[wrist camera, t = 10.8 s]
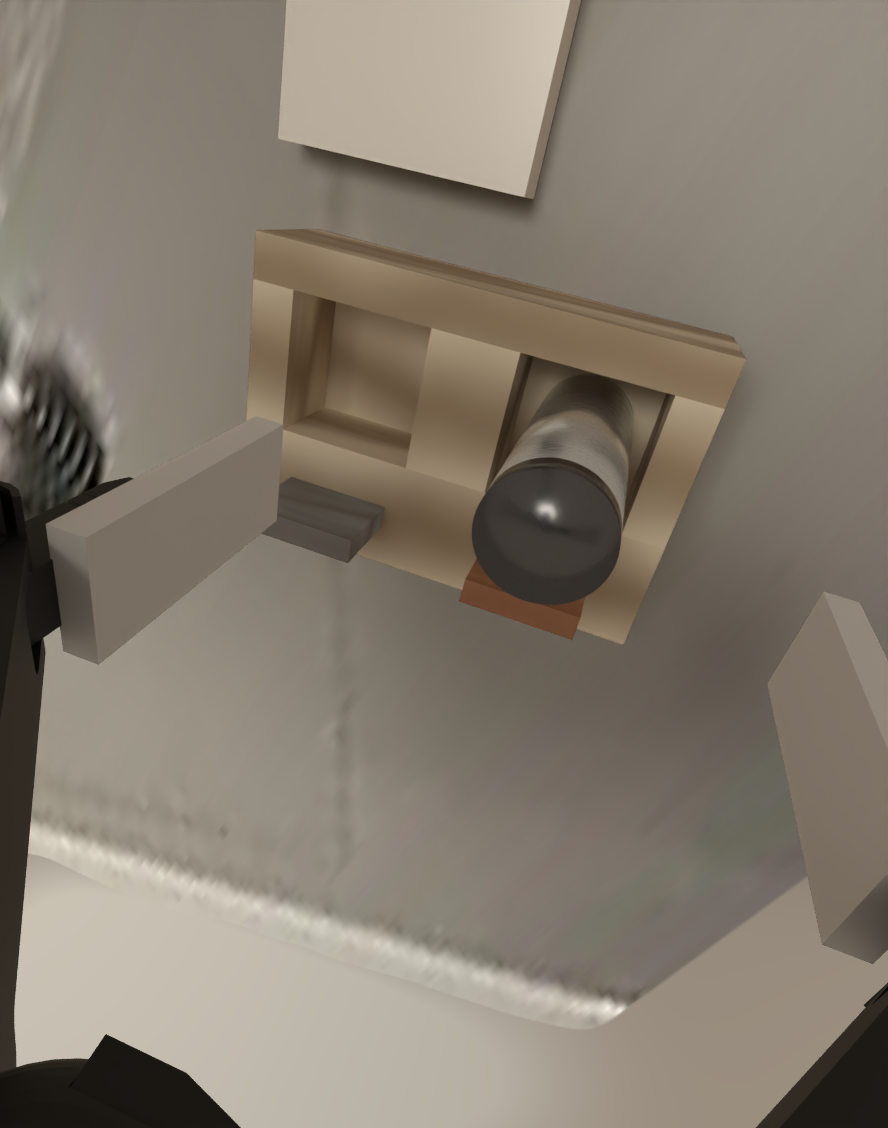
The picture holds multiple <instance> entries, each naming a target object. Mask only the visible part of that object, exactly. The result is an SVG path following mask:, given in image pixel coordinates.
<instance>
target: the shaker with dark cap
mask: <svg viewBox="0 0 888 1128" xmlns="http://www.w3.org/2000/svg"><path fill="white" fill-rule="evenodd" d="M633 428H634V413H633V408H632V405H631V402H630V400H629V398H628V397H627V395H626V393H625V392H624V391H623V390H622V389H621V388H620V387H619V386H618V385H617V384H615V383H614V382H613V381H611V380H609V379H607V378H604V377H602V376H598V375H591V374H583V375H576V376H573V377H570V378H567V379H565V380H563V381H561V382H560V383H558V384H557V385H556V386H555V387H553V388H552V389H551V390H550V392H549V393H548V394H547V395H546V397H545V398H544V400H543V402H542V403H541V405H540V406H539V408H538V410H537V411H536V413H535V414H534V416H533V418H532V419H531V421H530V422H529V424H528V426H527V427H526V429H525V431H524V432H523V434H522V435H521V437H520V439H519V440H518V442H517V443H516V445H515V447H514V448H513V450H512V451H511V453H510V455H509V456H508V458H507V460H506V461H505V463H504V464H503V466H502V468H501V469H500V471H499V472H498V474H497V476H496V477H495V479H494V480H493V482H492V484H491V485H490V487H489V489H488V490H487V492H486V493H485V495H484V497H483V498H482V500H481V501H480V503H479V505H478V507H477V509H476V512H475V515H474V518H473V523H472V544H473V548H474V552H475V555H476V557H477V560H478V562H479V564H480V566H481V567H482V569H483V570H484V572H485V573H486V575H487V576H488V577H489V578H490V579H491V580H492V581H493V582H494V583H495V584H496V585H497V586H498V587H500V588H501V589H502V590H504V591H505V592H507V593H508V594H510V595H512V596H514V597H516V598H519V599H521V600H524V601H527V602H531V603H536V604H542V605H558V604H565V603H570V602H573V601H576V600H579V599H581V598H584V597H586V596H588V595H589V594H591V593H592V592H594V591H595V590H597V589H598V588H599V587H600V586H601V585H602V584H603V583H604V582H605V581H606V580H607V579H608V577H609V576H610V574H611V573H612V571H613V569H614V567H615V565H616V563H617V560H618V557H619V552H620V545H621V536H622V527H623V518H624V509H625V500H626V491H627V482H628V473H629V464H630V455H631V446H632V437H633Z"/></svg>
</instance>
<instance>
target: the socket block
mask: <svg viewBox="0 0 888 1128" xmlns="http://www.w3.org/2000/svg"><path fill="white" fill-rule="evenodd" d="M745 361H746V358H745V356H744V355H743V353H742V351H741V349H740V348H739V346H738V344H737V343H736V341H735V339H734V338H733V337H731V336H727V335H723V334H720V333H716V332H712V331H708V330H704V329H700V328H696V327H693V326H689V325H685V324H681V323H677V322H673V321H669V320H666V319H662V318H658V317H654V316H650V315H646V314H642V313H638V312H635V311H631V310H627V309H623V308H619V307H615V306H611V305H608V304H604V303H600V302H596V301H592V300H588V299H584V298H581V297H577V296H573V295H569V294H565V293H561V292H557V291H554V290H550V289H546V288H542V287H538V286H534V285H530V284H527V283H523V282H519V281H515V280H511V279H507V278H503V277H500V276H496V275H492V274H488V273H484V272H480V271H476V270H472V269H469V268H465V267H461V266H457V265H453V264H449V263H445V262H442V261H438V260H434V259H430V258H426V257H422V256H418V255H415V254H411V253H407V252H403V251H399V250H395V249H391V248H388V247H384V246H380V245H376V244H372V243H368V242H364V241H361V240H357V239H353V238H349V237H345V236H341V235H337V234H334V233H330V232H326V231H322V230H318V229H299V230H256V238H255V258H254V278H253V298H252V318H251V338H250V358H249V377H248V397H247V417H246V421H247V420H249V419H251V418H253V417H255V416H257V417H260V418H263V419H267V420H270V421H273V422H276V423H280V424H283V439H282V453H281V467H280V481H279V495H278V509H277V521H276V522H274V523H273V524H272V525H271V526H269V527H268V528H267V529H266V530H265V531H263V532H262V534H265V535H267V536H270V537H273V538H276V539H279V540H282V541H285V542H288V543H291V544H294V545H297V546H300V547H303V548H305V549H308V550H311V551H314V552H317V553H320V554H323V555H326V556H329V557H332V558H335V559H338V560H340V561H343V562H346V563H348V562H349V561H350V560H351V559H352V558H353V557H354V556H355V555H356V554H357V555H360V556H363V557H366V558H369V559H372V560H375V561H378V562H381V563H384V564H387V565H390V566H393V567H396V568H398V569H401V570H404V571H407V572H410V573H413V574H416V575H419V576H422V577H425V578H428V579H431V580H434V581H437V582H440V583H443V584H446V585H449V586H451V587H454V588H457V589H460V590H462V593H461V597H460V602H463V603H466V604H469V605H472V606H475V607H478V608H481V609H484V610H486V611H489V612H492V613H495V614H498V615H501V616H504V617H507V618H510V619H513V620H516V621H519V622H522V623H524V624H527V625H530V626H533V627H536V628H539V629H542V630H545V631H548V632H551V633H554V634H557V635H559V636H562V637H565V638H568V639H571V640H572V639H573V637H574V634H575V631H576V629H578V630H581V631H584V632H587V633H590V634H593V635H596V636H599V637H602V638H605V639H608V640H611V641H613V642H616V643H619V644H622V645H624V642H625V640H626V638H627V635H628V633H629V631H630V628H631V626H632V624H633V621H634V619H635V617H636V614H637V612H638V610H639V607H640V605H641V603H642V600H643V598H644V596H645V594H646V591H647V589H648V587H649V584H650V582H651V580H652V577H653V575H654V573H655V570H656V568H657V566H658V563H659V561H660V559H661V556H662V554H663V552H664V549H665V547H666V545H667V542H668V540H669V538H670V535H671V533H672V531H673V529H674V526H675V524H676V522H677V519H678V517H679V515H680V512H681V510H682V508H683V505H684V503H685V501H686V498H687V496H688V494H689V491H690V489H691V487H692V484H693V482H694V480H695V477H696V475H697V473H698V471H699V468H700V466H701V464H702V461H703V459H704V457H705V454H706V452H707V450H708V447H709V445H710V443H711V440H712V438H713V436H714V433H715V431H716V429H717V426H718V424H719V422H720V419H721V417H722V415H723V412H724V410H725V408H726V406H727V403H728V401H729V399H730V396H731V394H732V392H733V389H734V387H735V385H736V382H737V380H738V378H739V375H740V373H741V371H742V368H743V366H744V364H745ZM583 374H591V375H598V376H602V377H604V378H607V379H609V380H611V381H613V382H614V383H615V384H617V385H618V386H619V387H620V388H621V389H622V390H623V391H624V392H625V393H626V395H627V397H628V398H629V400H630V402H631V405H632V408H633V413H634V428H633V437H632V446H631V455H630V464H629V473H628V482H627V491H626V500H625V509H624V518H623V527H622V536H621V545H620V552H619V557H618V560H617V563H616V565H615V567H614V569H613V571H612V573H611V574H610V576H609V577H608V579H607V580H606V581H605V582H604V583H603V584H602V585H601V586H600V587H599V588H598V589H597V590H595V591H594V592H592V593H591V594H589V595H588V596H586V597H584V598H581V599H579V600H576V601H573V602H570V603H565V604H558V605H542V604H536V603H531V602H527V601H524V600H521V599H519V598H516V597H514V596H512V595H510V594H508V593H507V592H505V591H504V590H502V589H501V588H500V587H498V586H497V585H496V584H495V583H494V582H493V581H492V580H491V579H490V578H489V577H488V576H487V575H486V573H485V572H484V570H483V569H482V567H481V566H480V564H479V562H478V560H477V557H476V555H475V552H474V548H473V544H472V523H473V518H474V515H475V512H476V509H477V507H478V505H479V503H480V501H481V500H482V498H483V497H484V495H485V493H486V492H487V490H488V489H489V487H490V485H491V484H492V482H493V480H494V479H495V477H496V476H497V474H498V472H499V471H500V469H501V468H502V466H503V464H504V463H505V461H506V460H507V458H508V456H509V455H510V453H511V451H512V450H513V448H514V447H515V445H516V443H517V442H518V440H519V439H520V437H521V435H522V434H523V432H524V431H525V429H526V427H527V426H528V424H529V422H530V421H531V419H532V418H533V416H534V414H535V413H536V411H537V410H538V408H539V406H540V405H541V403H542V402H543V400H544V398H545V397H546V395H547V394H548V393H549V392H550V390H551V389H552V388H553V387H555V386H556V385H557V384H558V383H560V382H561V381H563V380H565V379H567V378H570V377H573V376H576V375H583Z"/></svg>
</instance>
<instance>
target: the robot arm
mask: <svg viewBox="0 0 888 1128" xmlns="http://www.w3.org/2000/svg"><path fill="white" fill-rule="evenodd" d="M282 439H283V424H280V423H276V422H273V421H270V420H267V419H263V418H260V417H257V416H255V417H253V418H251V419H249V420H247V421H245V422H244V423H242V424H240V425H238V426H236V427H234V428H232V429H230V430H228V431H226V432H224V433H222V434H220V435H218V436H216V437H214V438H212V439H210V440H208V441H207V442H205V443H203V444H201V445H199V446H197V447H195V448H193V449H191V450H189V451H187V452H185V453H183V454H181V455H179V456H177V457H175V458H173V459H171V460H169V461H168V462H166V463H164V464H162V465H160V466H158V467H156V468H154V469H152V470H150V471H148V472H146V473H144V474H142V475H140V476H138V477H136V478H134V479H133V478H130V477H128V478H123V479H119V480H114V481H110V482H105V483H102V484H100V485H98V486H96V487H94V488H92V489H90V490H88V491H86V492H84V495H81V494H80V495H78V496H76V497H74V498H72V499H70V500H68V503H65V502H64V503H62V504H60V505H58V506H56V507H54V508H52V509H50V510H48V511H46V512H44V513H41V514H39V515H37V516H35V517H33V518H31V519H29V520H27V521H25V520H24V514H23V507H22V501H21V496H20V492H19V489H17V488H16V487H14V486H13V485H11V484H9V483H5V482H2V481H0V1128H240V1127H239V1126H238V1125H237V1124H236V1123H235V1122H234V1121H233V1120H232V1119H231V1117H230V1116H228V1114H227V1113H226V1112H224V1110H223V1109H222V1108H220V1106H219V1105H218V1104H217V1103H216V1102H215V1101H214V1100H213V1099H212V1098H211V1097H210V1096H209V1095H208V1094H207V1093H206V1092H205V1091H204V1090H203V1089H202V1088H201V1087H200V1086H199V1085H198V1084H197V1083H196V1082H195V1081H194V1080H193V1079H192V1078H191V1077H190V1076H189V1075H188V1074H187V1073H185V1072H183V1071H181V1070H179V1069H177V1068H175V1067H173V1066H171V1065H169V1064H166V1063H164V1062H162V1061H160V1060H158V1059H156V1058H154V1057H152V1056H150V1055H148V1054H146V1053H144V1052H142V1051H140V1050H138V1049H135V1048H133V1047H131V1046H129V1045H127V1044H125V1043H123V1042H121V1041H119V1040H117V1039H115V1038H113V1037H111V1036H108V1035H107V1034H106V1035H105V1036H104V1038H103V1039H102V1041H101V1042H100V1044H99V1045H98V1047H97V1048H96V1049H95V1051H94V1052H93V1054H92V1056H91V1057H90V1058H89V1059H55V1060H48V1061H43V1062H37V1063H31V1064H26V1065H23V1066H20V1067H16V1044H15V1030H14V1004H15V991H16V980H17V968H18V957H19V946H20V934H21V924H22V911H23V901H24V889H25V878H26V867H27V856H28V844H29V833H30V822H31V810H32V799H33V788H34V777H35V765H36V754H37V743H38V731H39V720H40V709H41V697H42V686H43V675H44V663H45V646H44V640H43V638H44V637H45V636H46V635H48V634H49V633H51V632H52V631H54V630H55V629H57V628H58V627H59V626H60V630H61V637H62V645H63V651H65V652H67V653H70V654H72V655H75V656H77V657H80V658H83V659H85V660H88V661H90V662H93V663H96V664H98V665H99V664H100V663H101V662H103V661H104V660H105V659H106V658H107V657H109V656H110V655H111V654H112V653H114V652H115V651H116V650H117V649H119V648H120V647H121V646H122V645H124V644H125V643H126V642H127V641H128V640H130V639H131V638H132V637H133V636H135V635H136V634H137V633H138V632H140V631H141V630H142V629H143V628H145V627H146V626H147V625H148V624H150V623H151V622H152V621H153V620H154V619H156V618H157V617H158V616H159V615H161V614H162V613H163V612H164V611H166V610H167V609H168V608H169V607H171V606H172V605H173V604H174V603H175V602H177V601H178V600H179V599H180V598H182V597H183V596H184V595H185V594H187V593H188V592H189V591H190V590H192V589H193V588H194V587H195V586H197V585H198V584H199V583H200V582H201V581H203V580H204V579H205V578H206V577H208V576H209V575H210V574H211V573H213V572H214V571H215V570H216V569H218V568H219V567H220V566H221V565H222V564H224V563H225V562H226V561H227V560H229V559H230V558H231V557H232V556H234V555H235V554H236V553H237V552H239V551H240V550H241V549H242V548H243V547H245V546H246V545H247V544H248V543H250V542H251V541H252V540H253V539H255V538H256V537H257V536H258V535H260V534H261V533H262V532H263V531H265V530H266V529H267V528H268V527H269V526H271V525H272V524H273V523H274V522H276V521H277V509H278V495H279V481H280V467H281V453H282ZM767 686H768V691H769V696H770V700H771V705H772V710H773V714H774V719H775V724H776V729H777V733H778V738H779V743H780V748H781V752H782V757H783V762H784V767H785V771H786V776H787V781H788V786H789V790H790V795H791V800H792V805H793V809H794V814H795V819H796V824H797V828H798V833H799V838H800V842H801V847H802V852H803V857H804V861H805V866H806V871H807V876H808V880H809V885H810V890H811V894H812V899H813V904H814V909H815V914H816V918H817V923H818V928H819V933H820V937H821V942H822V945H825V946H828V947H830V948H833V949H835V950H838V951H841V952H843V953H845V954H848V955H851V956H853V957H856V958H858V959H861V960H864V961H866V962H869V963H871V964H873V963H874V962H875V961H876V960H877V959H878V958H880V957H881V956H882V954H884V953H885V952H886V951H887V950H888V660H887V658H886V656H885V654H884V652H883V650H882V648H881V646H880V644H879V642H878V640H877V638H876V636H875V634H874V631H873V629H872V627H871V625H870V623H869V621H868V619H867V617H866V615H865V613H864V611H863V609H862V607H861V605H860V603H859V602H856V601H853V600H849V599H846V598H843V597H840V596H836V595H833V594H830V593H827V592H823V593H822V595H821V596H820V598H819V600H818V601H817V603H816V605H815V606H814V608H813V609H812V611H811V613H810V614H809V616H808V618H807V619H806V621H805V623H804V624H803V626H802V628H801V629H800V631H799V633H798V634H797V636H796V637H795V639H794V641H793V642H792V644H791V646H790V647H789V649H788V651H787V652H786V654H785V656H784V657H783V659H782V661H781V662H780V664H779V665H778V667H777V669H776V670H775V672H774V674H773V675H772V677H771V679H770V680H769V682H768V684H767ZM864 1006H865V1007H866V1008H865V1009H864V1010H863V1011H862V1012H861V1013H860V1014H859V1016H858V1017H857V1018H856V1019H855V1020H854V1021H853V1022H852V1023H851V1024H850V1025H849V1026H848V1027H847V1029H846V1030H845V1031H844V1032H843V1033H842V1034H841V1035H840V1036H839V1038H838V1039H837V1040H836V1041H835V1042H834V1043H833V1044H832V1045H831V1046H830V1047H829V1048H828V1049H827V1050H826V1052H825V1053H824V1054H823V1055H822V1056H821V1057H820V1058H819V1059H818V1061H816V1062H815V1064H814V1065H813V1066H812V1067H811V1068H810V1069H809V1070H808V1071H807V1072H806V1073H805V1075H804V1076H803V1077H802V1078H801V1079H800V1080H799V1081H798V1082H797V1083H796V1085H795V1086H794V1087H793V1088H792V1089H791V1090H790V1091H789V1092H788V1093H787V1094H786V1095H785V1096H784V1097H783V1099H782V1100H781V1101H780V1102H779V1103H778V1104H777V1105H776V1106H775V1107H774V1108H773V1110H772V1111H771V1112H770V1113H769V1114H768V1115H767V1116H766V1117H765V1118H764V1119H763V1120H762V1122H761V1123H760V1124H759V1125H758V1126H757V1127H756V1128H888V983H887V984H886V985H885V986H884V987H883V988H882V989H881V990H880V991H879V992H877V993H876V994H875V995H874V996H873V997H872V998H871V999H870V1000H869V1001H868V1002H867V1003H866V1004H864Z"/></svg>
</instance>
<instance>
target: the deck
mask: <svg viewBox="0 0 888 1128" xmlns="http://www.w3.org/2000/svg"><path fill="white" fill-rule="evenodd" d="M580 4H581V0H287V3H286V20H285V36H284V52H283V68H282V84H281V101H280V117H279V133H278V139H281V140H286V141H290V142H294V143H298V144H302V145H307V146H311V147H315V148H319V149H323V150H328V151H332V152H336V153H340V154H344V155H349V156H353V157H357V158H361V159H365V160H370V161H374V162H378V163H382V164H386V165H391V166H395V167H399V168H403V169H407V170H412V171H416V172H420V173H424V174H428V175H433V176H437V177H441V178H445V179H449V180H454V181H458V182H462V183H466V184H470V185H475V186H479V187H483V188H487V189H491V190H496V191H500V192H504V193H508V194H513V195H517V196H521V197H525V198H531V199H534V196H535V192H536V188H537V184H538V179H539V175H540V171H541V167H542V163H543V159H544V154H545V150H546V146H547V142H548V138H549V133H550V129H551V125H552V121H553V117H554V112H555V108H556V104H557V100H558V96H559V92H560V87H561V83H562V79H563V75H564V71H565V66H566V62H567V58H568V54H569V50H570V45H571V41H572V37H573V33H574V29H575V25H576V20H577V16H578V12H579V8H580Z"/></svg>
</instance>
